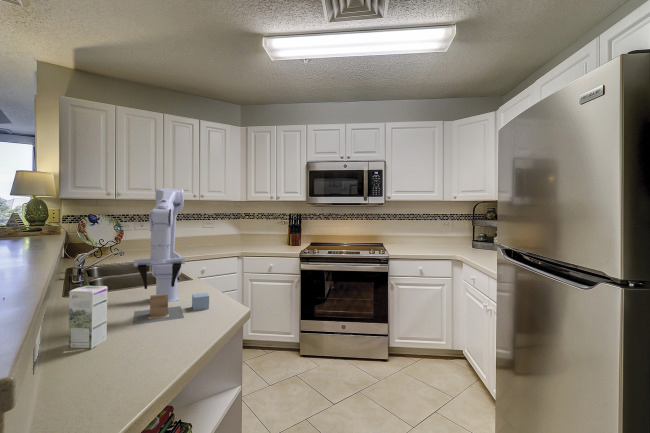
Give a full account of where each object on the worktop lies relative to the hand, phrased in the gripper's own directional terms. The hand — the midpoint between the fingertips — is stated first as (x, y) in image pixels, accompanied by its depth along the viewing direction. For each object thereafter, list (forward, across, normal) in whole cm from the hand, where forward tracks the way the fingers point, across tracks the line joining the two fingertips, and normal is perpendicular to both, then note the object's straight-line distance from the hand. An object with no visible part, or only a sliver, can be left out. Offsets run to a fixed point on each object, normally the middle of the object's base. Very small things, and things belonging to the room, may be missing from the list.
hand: (159, 287), depth 99 cm
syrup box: (+10, -16, -16) cm, 25 cm away
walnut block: (+9, 0, +1) cm, 9 cm away
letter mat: (+10, 0, +1) cm, 10 cm away
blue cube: (+10, +13, +3) cm, 16 cm away
